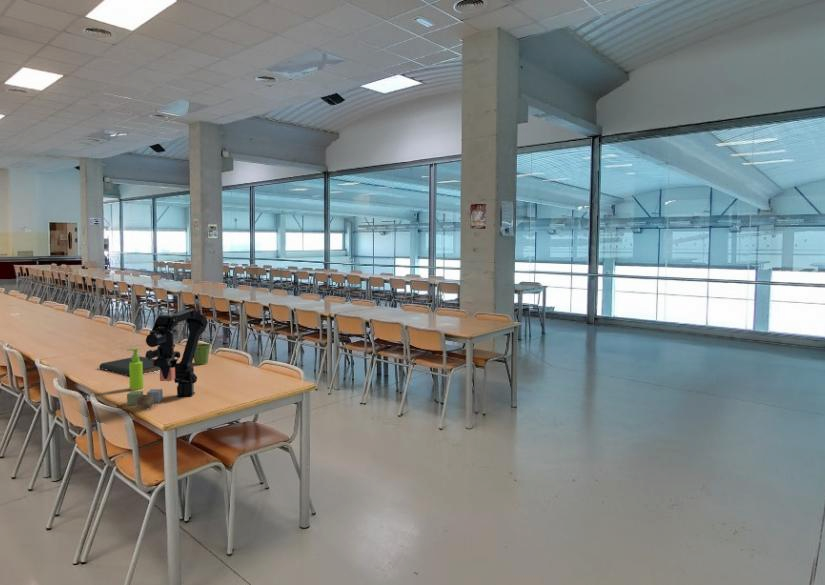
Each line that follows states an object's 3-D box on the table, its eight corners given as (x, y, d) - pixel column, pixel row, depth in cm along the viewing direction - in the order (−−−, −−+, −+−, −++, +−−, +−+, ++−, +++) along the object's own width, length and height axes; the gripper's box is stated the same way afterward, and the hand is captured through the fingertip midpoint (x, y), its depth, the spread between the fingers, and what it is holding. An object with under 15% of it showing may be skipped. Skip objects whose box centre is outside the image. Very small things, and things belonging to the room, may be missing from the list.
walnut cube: (153, 405, 240) (152, 394, 240) (149, 408, 235) (148, 397, 235) (141, 405, 239) (141, 394, 239) (137, 409, 235) (136, 398, 234)
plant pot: (215, 362, 328) (215, 343, 327) (204, 366, 317) (204, 347, 316) (197, 361, 330) (197, 342, 329) (186, 365, 319) (185, 346, 318)
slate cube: (162, 399, 249) (162, 389, 248) (158, 403, 244) (158, 392, 243) (151, 400, 248) (151, 389, 248) (147, 403, 243) (147, 392, 243)
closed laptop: (173, 362, 310) (132, 371, 290) (173, 369, 310) (133, 378, 290) (139, 355, 327) (99, 363, 307) (139, 362, 328) (99, 370, 307)
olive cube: (143, 401, 245) (142, 391, 245) (139, 405, 240) (138, 394, 240) (131, 402, 245) (131, 391, 244) (127, 405, 240) (126, 394, 239)
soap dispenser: (132, 386, 270) (131, 347, 268) (145, 387, 270) (144, 347, 268) (125, 389, 264) (123, 349, 263) (138, 390, 264) (137, 350, 262)
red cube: (175, 378, 245) (174, 367, 245) (171, 380, 240) (171, 369, 240) (163, 378, 244) (163, 367, 244) (159, 381, 239) (159, 370, 239)
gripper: (155, 339, 249) (156, 372, 250) (139, 347, 231) (140, 382, 232) (180, 339, 250) (181, 372, 252) (166, 346, 232) (167, 382, 233)
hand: (167, 377), depth 242 cm, fingers closed on red cube, 5 cm apart
